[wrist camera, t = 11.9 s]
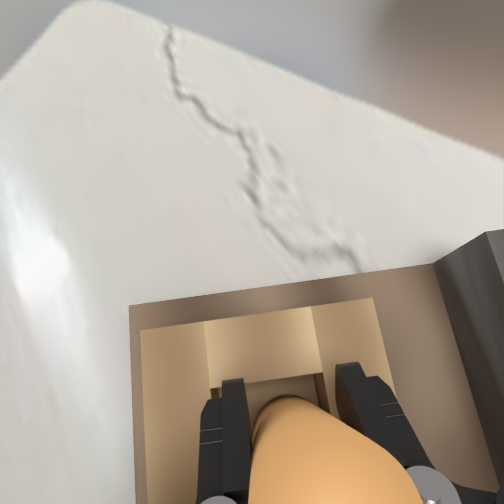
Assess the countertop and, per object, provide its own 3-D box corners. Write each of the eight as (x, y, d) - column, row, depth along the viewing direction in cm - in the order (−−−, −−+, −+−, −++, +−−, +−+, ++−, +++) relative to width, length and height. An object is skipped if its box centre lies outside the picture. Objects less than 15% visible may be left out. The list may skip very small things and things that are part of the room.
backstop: (146, 611, 17) (89, 737, 11) (134, 308, 21) (88, 286, 15) (569, 543, 17) (724, 630, 12) (474, 261, 22) (553, 222, 16)
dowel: (258, 481, 15) (260, 662, 6) (248, 399, 16) (236, 442, 7) (333, 469, 15) (454, 630, 6) (319, 389, 16) (404, 418, 7)
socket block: (177, 566, 16) (153, 627, 12) (163, 337, 19) (140, 330, 15) (398, 531, 17) (440, 580, 13) (350, 311, 20) (372, 297, 16)
